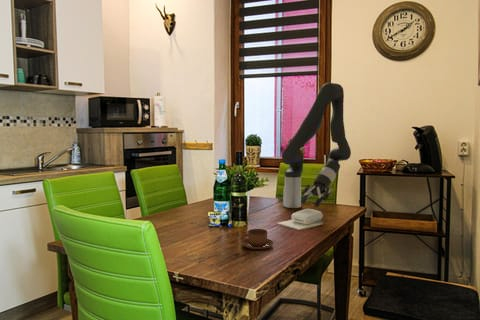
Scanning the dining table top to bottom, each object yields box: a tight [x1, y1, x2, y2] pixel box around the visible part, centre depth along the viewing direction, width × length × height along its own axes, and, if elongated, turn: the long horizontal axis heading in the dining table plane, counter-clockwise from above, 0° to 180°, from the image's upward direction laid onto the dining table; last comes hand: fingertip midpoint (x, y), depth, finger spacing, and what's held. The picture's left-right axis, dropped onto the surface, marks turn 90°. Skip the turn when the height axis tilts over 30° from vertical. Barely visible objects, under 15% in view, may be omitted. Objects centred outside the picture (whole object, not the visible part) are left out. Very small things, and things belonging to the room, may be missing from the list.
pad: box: [276, 219, 324, 231], centre depth 189 cm, size 14×16×1 cm
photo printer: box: [290, 208, 324, 224], centre depth 191 cm, size 10×4×12 cm
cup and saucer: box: [241, 228, 274, 250], centre depth 155 cm, size 12×12×6 cm
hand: (308, 204), depth 192 cm, fingers open, 8 cm apart
